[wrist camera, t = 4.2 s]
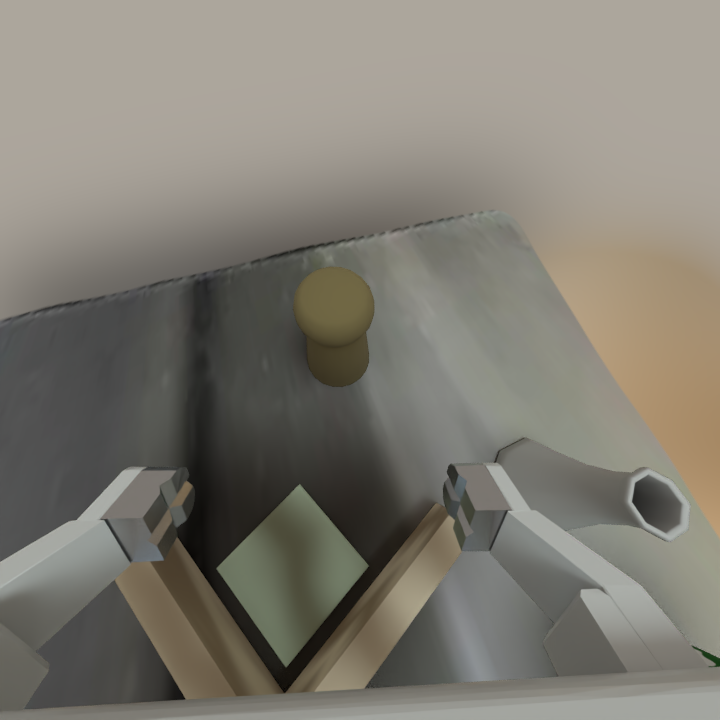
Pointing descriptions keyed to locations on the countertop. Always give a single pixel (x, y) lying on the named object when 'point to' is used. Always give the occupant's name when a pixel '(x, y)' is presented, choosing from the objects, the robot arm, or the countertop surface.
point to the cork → (335, 324)
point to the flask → (594, 492)
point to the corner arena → (286, 603)
